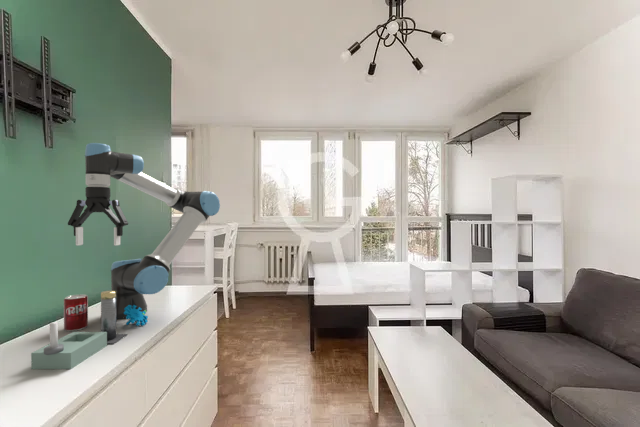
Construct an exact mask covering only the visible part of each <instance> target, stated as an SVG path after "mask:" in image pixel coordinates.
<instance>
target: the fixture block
mask: <svg viewBox="0 0 640 427" xmlns="http://www.w3.org/2000/svg"><path fill="white" fill-rule="evenodd" d="M58 324H59V322H58V321H57V322H56V321H53V322H50V323H49V344H47V345H45V346H43V347H41V348H39V349H36V350H34V351H33V352H31V353H30V359H31V360H30V364H31V365H30V366H31V367H30V369H31V370H71V369H73V368H74V367H77V366H78V365H79V364H81V363H83V362H84V361H85V360H87V359H89V358H90V357H92V356H93V355H95V354H96V353H98V352H100V351H101V350H103V348H105V347H107V346H108V344H107V332H101V331H71V332H70V333H68V334H66V335H64V336H62V337H60V338H59V332H58V331H59V325H58Z"/></svg>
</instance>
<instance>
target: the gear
mask: <svg viewBox="0 0 640 427" xmlns="http://www.w3.org/2000/svg"><path fill="white" fill-rule="evenodd" d="M131 307H132V308H133V309H132V308H131ZM136 307H137V306H135V305H133V306H131V305H128V306H127V307H125V308H124V310H126V311H125V312H124V314H125V315H127V316H126V318H125V319H126V320H128V321H126V323H125V324H126V325H127V326H129V324H134V323H135V322H136V323H135V325H136V326H138V327H139V326H140V325H141V327H142V326H145V325H146V324H147V323H148V318H149V316H148V315H146V314H147V311H148V310H147V311H146V310H144V311H143V312H141V310H142V309H141V308H140V307H139V308H138V309H135V308H136Z"/></svg>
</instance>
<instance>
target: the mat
mask: <svg viewBox="0 0 640 427" xmlns="http://www.w3.org/2000/svg"><path fill="white" fill-rule="evenodd" d="M127 336H128V334H127V333H116V338H115V339H113V340H109V341H107V345H115V344H116V343H118V342H119V341H120V340H123V337H124V338H125V337H127ZM117 341H118V342H117Z"/></svg>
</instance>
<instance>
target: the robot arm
mask: <svg viewBox="0 0 640 427" xmlns="http://www.w3.org/2000/svg"><path fill="white" fill-rule="evenodd" d="M84 160H85V186H86V187H85V197H86V199H85V200H84V199H77V200H76V203H75V204H76V205H75V208H74V209H73V212H72V214H71V215H70V217H69V220H68V222H67V226H70V227H72V228H73V236H74V237H75V246H82V245H84V226H82V225H83V224H84V223H85V221H86V220H87V219H88V218H89V217H90V216H91V215H92V214H93V213H103V214H105V215H106V216H107V217H108V219H109V220H110V221H111V222H112V223H113V225H115V226H114V227H113V246H121V237H123V234H124V233H123V230H124V229H123V227H125V226H128V225H129V222H128V220H127V218H126V216H125V214H124V212H123V210H122V208H121V206H120V201H119V200H118V199H113V200H111V187H110V186H111V178H113V179H115V180H117V181H118V182H122V183H124V184H125V185H128V186H130V187H132V188H134V189H136V190H139V191H140V192H142V193H145V194H146V195H149V196H151V197H153V198H154V199H155V198H156V199H157V200H160V201H162V202H164V203H165V205H166V206H167V207H169V208H171V209H174V210H175V211H178V212H180V213H182V215H181V216H180V217H179V219H178V220H177V221H176V223H174V225H173V226H172V228H171V229H170V230H169V231H168V233H166V235H165V236H164V238H163V239H162V240H161V241H160V243H159V244H158V245H157V246H156V248H155V249H154V250H153V252H152V253H150V254H146V255H145V256H144V257H143V258H136V259H135V258H134V259H126V260H116V261H114V262H112V264H111V269H110V272H111V275H110V276H111V278H110V279H111V280H110V281H111V289H110V291H111V290H114V291H116V320H117V319H126V316H127V315H125V314H124V312H125V311H126V310H124V308H125V307H127V306H128V305H131V306H133V305H135V306H137V307H136V308H135V309H138V308H139V307H140V308H141V309H142V310H141V312H143V311H144V310H146V311H148V304H147V301H146V298H145V296H144V295H155V294H157V293H159V292H161V291H162V290H164V289H165V288H166V286H167V284H168V282H169V276H170V275H169V273H170V271H171V266H170V265H171V264H172V262H174V261H173V260H175V259H176V257H177V255H178V254H179V253H180V251H181V250H182V249H183V247H184V246H185V245H186V243H187V242H188V240H189V239H190V238H191V237H192V235H193V234H194V233H195V232H196V230H197V229H198V228H199V226H200V225H201V224H205V223H206V222H207V221H208V219H209V217H213V216H216V215H217V214H218V213H219V210H220V209H221V208H220V207H221V204H220V199H219V196H218V195H217V194H216V193H215V192H213V191H208V190H202V191H186V190H182V189H179V188H178V187H171V186H169V185H168V184H166V183H164V182H162V181H160V180H158V179H156V178H154V177H152V176H150V175H148V174H146V173H144V172H143V170H144V168H145V162H144V159H143V157H142V156H141V155H137V154H131V153H124V152H117V151H113V150H112V149H111V146H110V145H109V144H106V143H99V142H90V143H89V142H88V143H87V144H86V145H85V154H84ZM85 206H86V207H85ZM110 206H112V209H113V210H112V209H111V207H110ZM84 208H85V209H84ZM113 211H114V212H113ZM114 213H115V214H114ZM131 308H132V307H131ZM132 309H133V308H132Z"/></svg>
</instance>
